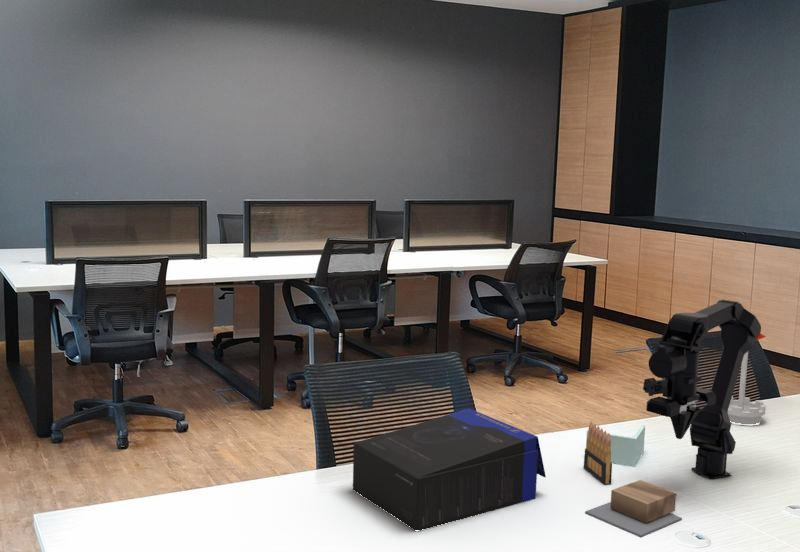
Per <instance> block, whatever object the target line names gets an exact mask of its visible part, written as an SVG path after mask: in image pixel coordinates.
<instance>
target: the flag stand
mask: <svg viewBox="0 0 800 552" xmlns="http://www.w3.org/2000/svg"><path fill="white" fill-rule="evenodd" d="M766 337H767V336H766V335H764V334H762V333H760V335H759V336H758V338H757V340H756V342H757V341H759V340H762V339H764V338H766ZM748 360H749V351H748V352H747V353H745V354H744V357H743V360H742V364H741V367H740V378H739V379H740V380H739V390H738V391H739V392H738V399H734V396H733V395H732V398H731V401H730V405H729V408H728V416H729V419H730V421H731V422H735V423H741V424H756V423H759V422H760V423H761V419H762V417H763V416H764V415H766V409H767V407H766V404H764V402H763V401H761V400H759V399H757V400H756V399H755V401H754V402H752V401H751V397H747V396H746V385H747V384H746V383H747V372H748Z"/></svg>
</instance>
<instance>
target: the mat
mask: <svg viewBox="0 0 800 552" xmlns="http://www.w3.org/2000/svg"><path fill="white" fill-rule="evenodd" d="M610 506H611V501H609V502H606V503H604V504H601V505H599V506H596V507H593V508H590V509H587V510H585V512H584V513H585V514H586V515H588V516H591V517H593V518H595V519H598V520H600V521H603V522H604V523H607V524H610V525H611V526H614V527H616V528H618V529H621V530H623V531H625V532H628V533H631V535H635V536H637V537H640V538H642V537H644V536H646V535H649V534H652V533H654V532H657V531H659V530H661V529H663V528H666V527H668V526H671V525H673V524H675V523H677V522H680V521H682V520H683V517H680V516H678V515H676V514H672V513H669V514H667V515H664V516H662V517H659V518H657V519H655V520H652V521H650V522H647V523H645V522H642V521H640V520H637V519H635V518H633V517H630V516H628V515H625V514H623V513H620V512H618V511H616V510H614V509H611V508H610Z"/></svg>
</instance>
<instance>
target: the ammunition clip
mask: <svg viewBox="0 0 800 552" xmlns="http://www.w3.org/2000/svg"><path fill="white" fill-rule="evenodd" d="M587 429H588V430H587V431H588V436H587V435H586V439H587V445H586V444H585V448H584V456H583V470H585V471H586V472H587V473H588V474H590V475H591V476H592V477H593V478H595V479H596V480H597V481H598V482H599V483H601V485H603V486H605V485H612V473H613V463H611V437H610V434H611V433H610V432H608V435H607V431H606V430H604V429H603V428H600V426H599V425H596V423H593V421H592V420H591V421H590V422H589V425H588V428H587ZM609 433H610V434H609Z"/></svg>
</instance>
